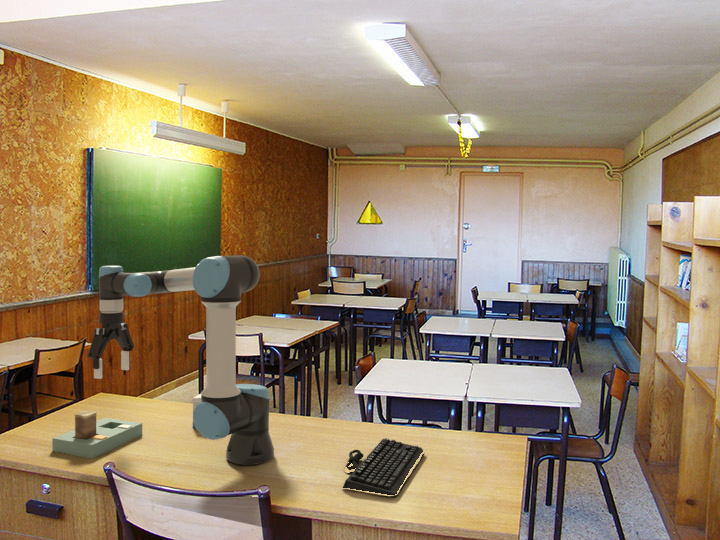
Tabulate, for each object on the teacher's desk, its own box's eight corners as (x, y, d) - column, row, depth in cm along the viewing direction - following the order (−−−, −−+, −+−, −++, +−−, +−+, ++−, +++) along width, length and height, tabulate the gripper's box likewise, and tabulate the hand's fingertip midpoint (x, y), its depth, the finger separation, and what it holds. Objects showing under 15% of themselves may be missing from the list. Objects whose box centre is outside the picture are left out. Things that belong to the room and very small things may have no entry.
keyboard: (395, 500, 174) (396, 483, 174) (322, 488, 181) (322, 472, 181) (425, 455, 209) (425, 441, 208) (362, 446, 216) (363, 433, 215)
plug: (96, 444, 207) (96, 412, 207) (86, 449, 203) (86, 416, 202) (85, 443, 209) (85, 410, 208) (75, 447, 205) (74, 414, 204)
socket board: (142, 435, 220) (142, 422, 220) (92, 458, 198) (92, 443, 197) (105, 429, 226) (105, 416, 225) (52, 451, 203) (52, 437, 203)
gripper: (126, 306, 224) (126, 365, 226) (75, 315, 201) (76, 381, 202) (144, 308, 222) (144, 367, 223) (94, 316, 198) (95, 383, 200)
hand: (112, 374), depth 213 cm, fingers open, 13 cm apart
